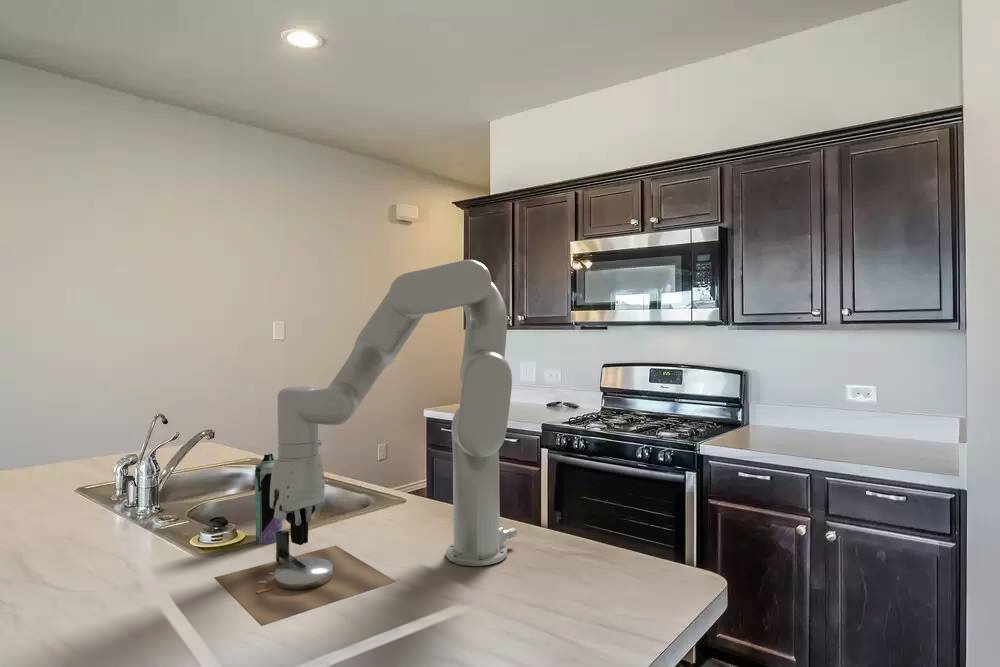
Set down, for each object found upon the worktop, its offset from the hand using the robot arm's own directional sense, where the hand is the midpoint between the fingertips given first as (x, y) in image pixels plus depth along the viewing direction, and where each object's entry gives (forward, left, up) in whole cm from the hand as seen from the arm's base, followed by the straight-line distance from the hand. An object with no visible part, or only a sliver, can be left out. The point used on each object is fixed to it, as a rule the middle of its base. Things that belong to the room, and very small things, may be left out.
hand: (299, 542), depth 121 cm
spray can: (0, -15, -5) cm, 16 cm away
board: (+3, +10, -5) cm, 11 cm away
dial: (+3, +7, -3) cm, 8 cm away
